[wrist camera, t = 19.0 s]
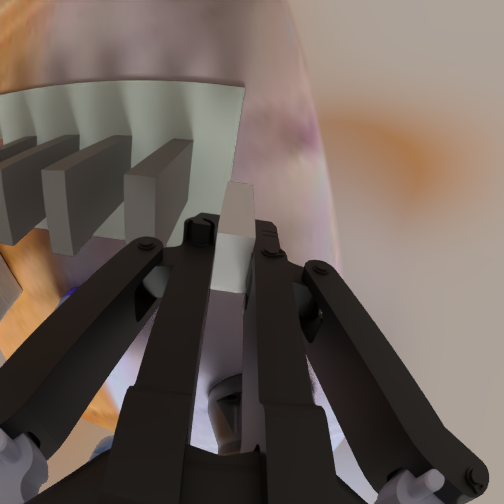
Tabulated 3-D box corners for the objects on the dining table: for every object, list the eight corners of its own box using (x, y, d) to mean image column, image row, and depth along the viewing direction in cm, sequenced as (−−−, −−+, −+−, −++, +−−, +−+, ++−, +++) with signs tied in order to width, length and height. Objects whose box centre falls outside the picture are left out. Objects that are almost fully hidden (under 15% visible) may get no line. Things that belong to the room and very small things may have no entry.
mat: (245, 87, 20) (245, 87, 19) (220, 250, 27) (220, 253, 26) (-30, 102, 17) (-33, 103, 16) (-20, 218, 24) (-22, 219, 24)
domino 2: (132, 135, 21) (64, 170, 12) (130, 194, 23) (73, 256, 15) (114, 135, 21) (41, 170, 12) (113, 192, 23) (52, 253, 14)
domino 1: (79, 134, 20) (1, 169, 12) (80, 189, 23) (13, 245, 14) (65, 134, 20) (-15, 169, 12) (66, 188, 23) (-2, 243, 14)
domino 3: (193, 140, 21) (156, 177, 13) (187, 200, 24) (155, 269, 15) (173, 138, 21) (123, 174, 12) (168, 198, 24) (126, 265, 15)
